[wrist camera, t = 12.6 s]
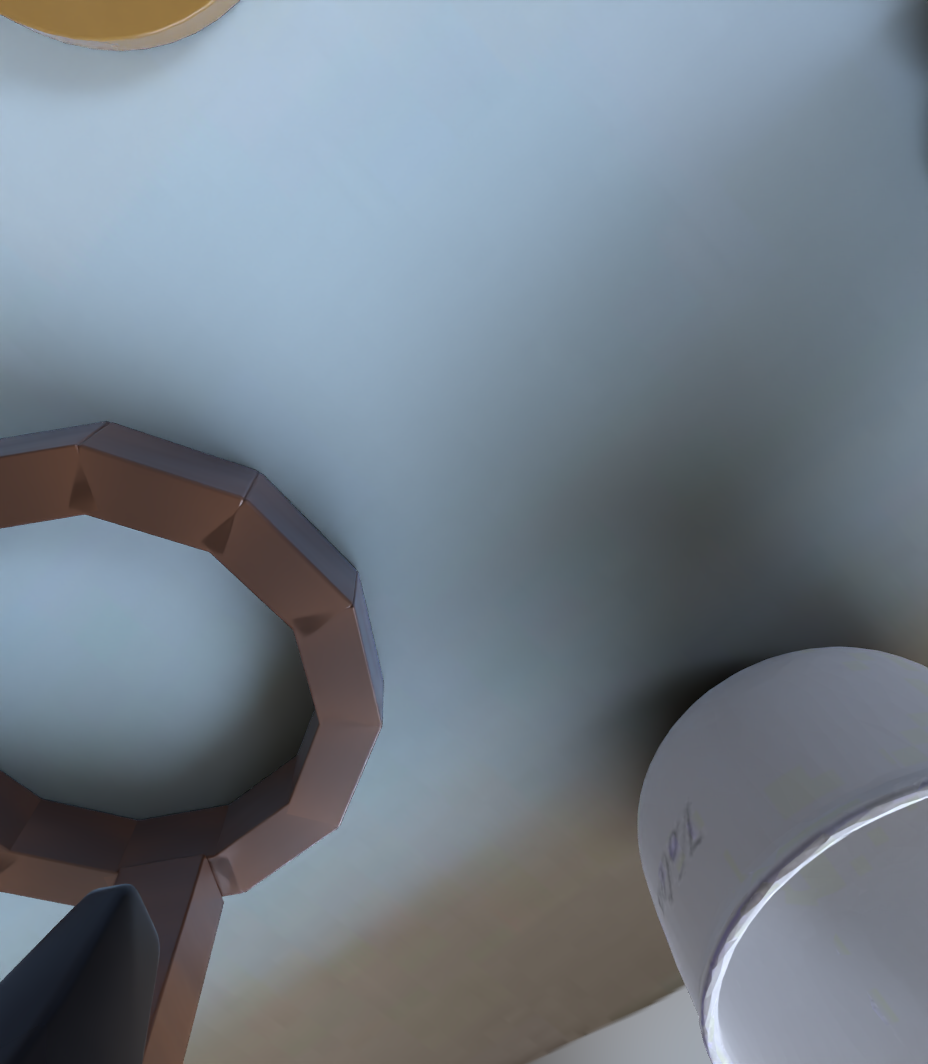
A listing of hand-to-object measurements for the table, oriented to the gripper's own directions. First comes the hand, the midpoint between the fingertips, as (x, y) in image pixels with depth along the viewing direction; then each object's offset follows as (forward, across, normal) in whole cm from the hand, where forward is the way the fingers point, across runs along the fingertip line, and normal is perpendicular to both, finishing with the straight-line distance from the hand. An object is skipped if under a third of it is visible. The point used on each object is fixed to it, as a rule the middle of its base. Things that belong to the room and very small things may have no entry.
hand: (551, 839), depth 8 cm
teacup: (+12, -9, +12) cm, 19 cm away
